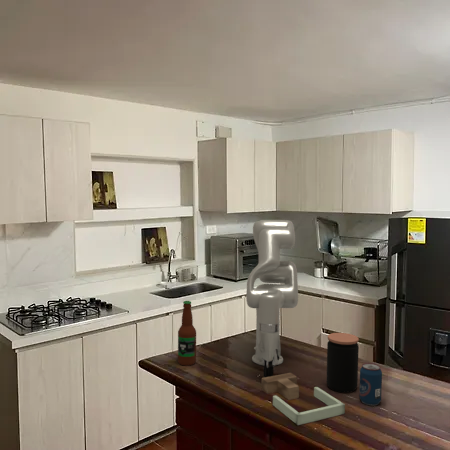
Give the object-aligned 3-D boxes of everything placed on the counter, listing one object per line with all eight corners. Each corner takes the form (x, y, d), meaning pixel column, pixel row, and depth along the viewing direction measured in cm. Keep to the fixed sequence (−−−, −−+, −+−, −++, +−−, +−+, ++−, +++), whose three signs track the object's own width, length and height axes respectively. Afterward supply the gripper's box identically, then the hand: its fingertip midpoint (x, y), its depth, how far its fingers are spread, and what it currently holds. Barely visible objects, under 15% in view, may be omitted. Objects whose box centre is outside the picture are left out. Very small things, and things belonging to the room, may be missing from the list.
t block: (261, 389, 159) (261, 378, 158) (290, 383, 164) (290, 372, 163) (278, 402, 149) (278, 390, 148) (308, 395, 154) (308, 384, 154)
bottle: (174, 363, 182) (174, 302, 180) (185, 358, 188) (185, 298, 186) (188, 367, 178) (188, 304, 176) (199, 361, 184) (200, 301, 182)
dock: (272, 405, 147) (272, 395, 146) (316, 395, 154) (317, 386, 154) (297, 425, 134) (298, 415, 134) (344, 413, 141) (344, 404, 141)
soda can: (354, 399, 152) (355, 363, 151) (370, 395, 154) (371, 361, 154) (369, 408, 145) (370, 371, 144) (385, 404, 148) (387, 368, 147)
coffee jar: (351, 380, 167) (353, 332, 165) (361, 393, 156) (363, 342, 155) (323, 380, 166) (324, 332, 165) (330, 393, 156) (332, 342, 154)
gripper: (250, 323, 170) (249, 371, 171) (270, 333, 156) (270, 386, 157) (267, 321, 173) (266, 368, 174) (289, 331, 160) (288, 382, 160)
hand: (268, 376), depth 166 cm, fingers closed
